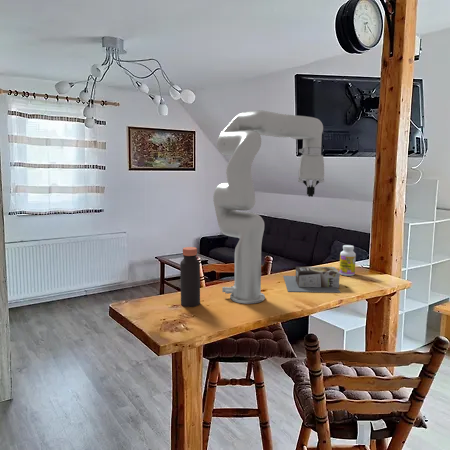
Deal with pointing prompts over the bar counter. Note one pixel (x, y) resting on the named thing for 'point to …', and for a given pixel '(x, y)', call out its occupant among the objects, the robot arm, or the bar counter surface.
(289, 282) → the mat
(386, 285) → the bar counter surface
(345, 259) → the supplement bottle
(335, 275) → the coffee box
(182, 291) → the black water bottle
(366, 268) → the bar counter surface
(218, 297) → the bar counter surface
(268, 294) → the bar counter surface
